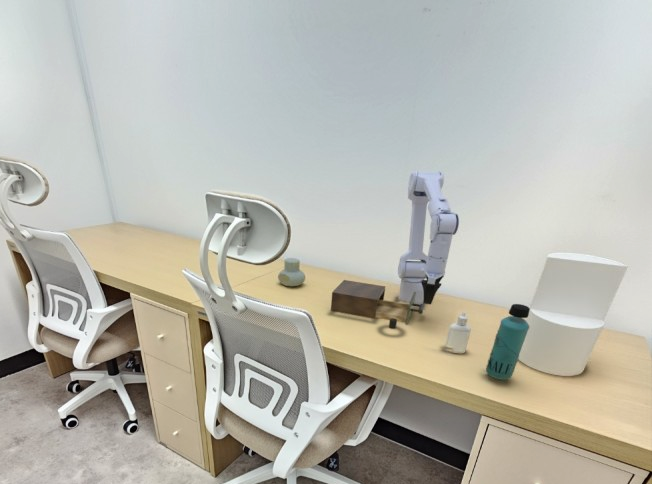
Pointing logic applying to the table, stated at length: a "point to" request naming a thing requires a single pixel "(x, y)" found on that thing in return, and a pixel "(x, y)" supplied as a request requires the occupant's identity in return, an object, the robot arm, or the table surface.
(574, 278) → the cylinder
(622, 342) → the table surface
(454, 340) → the eye dropper bottle
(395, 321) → the lid
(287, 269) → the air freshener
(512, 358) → the beverage bottle
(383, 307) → the drawer
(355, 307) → the cabinet
